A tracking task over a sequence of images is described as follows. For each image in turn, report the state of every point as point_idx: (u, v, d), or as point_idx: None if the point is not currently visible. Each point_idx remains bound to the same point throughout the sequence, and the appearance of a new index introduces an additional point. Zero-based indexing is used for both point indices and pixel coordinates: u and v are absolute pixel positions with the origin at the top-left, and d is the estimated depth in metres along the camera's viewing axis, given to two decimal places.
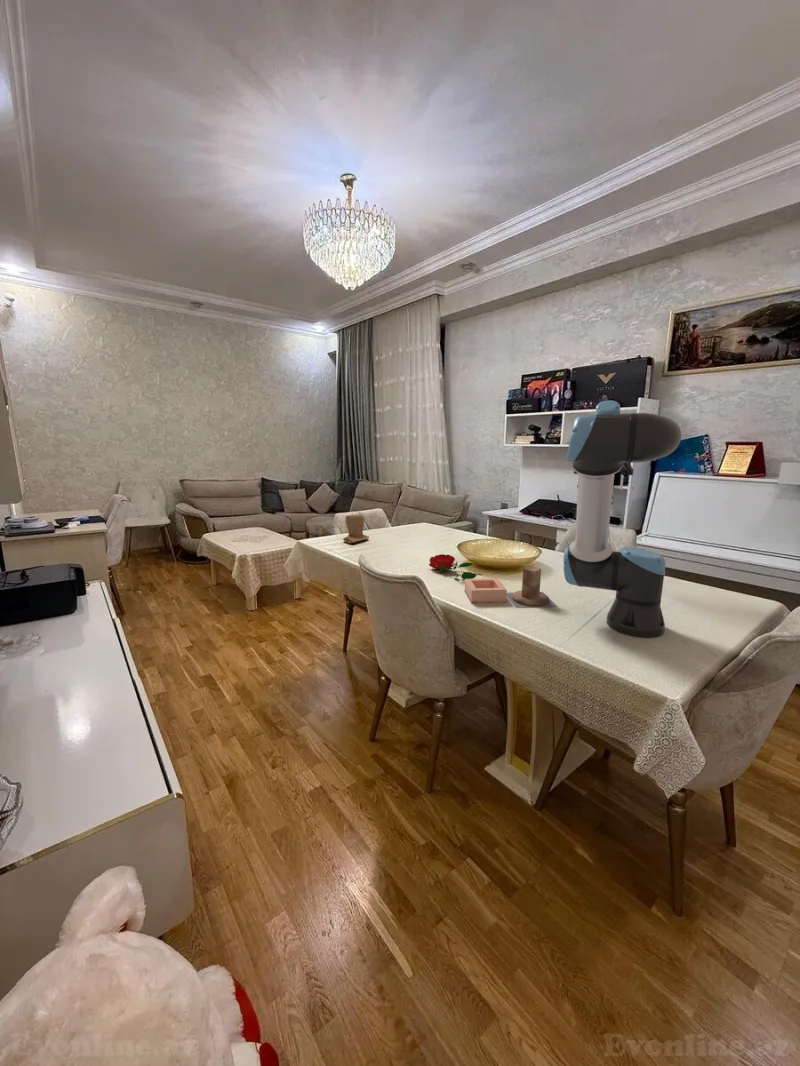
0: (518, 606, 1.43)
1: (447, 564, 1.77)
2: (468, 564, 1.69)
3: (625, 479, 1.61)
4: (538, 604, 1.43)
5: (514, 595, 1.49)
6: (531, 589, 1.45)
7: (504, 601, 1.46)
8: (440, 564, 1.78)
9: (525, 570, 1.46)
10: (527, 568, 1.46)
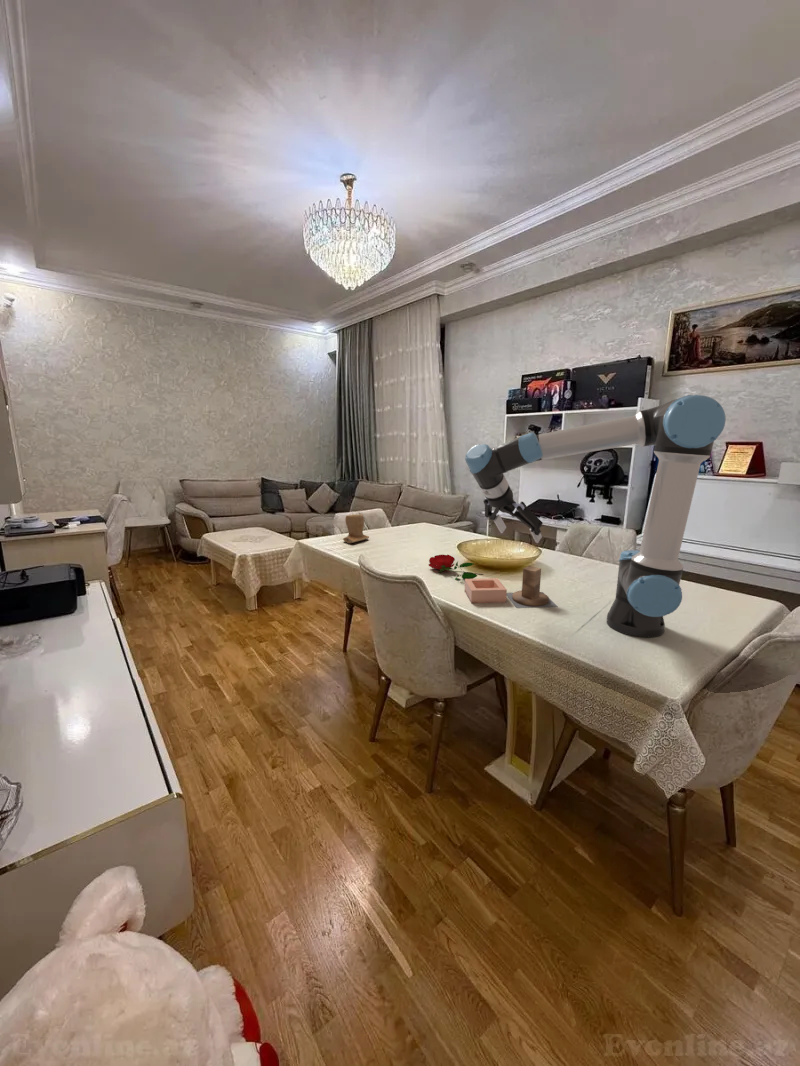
0: (518, 606, 1.43)
1: (447, 564, 1.77)
2: (469, 564, 1.69)
3: None
4: (538, 604, 1.43)
5: (514, 595, 1.49)
6: (531, 589, 1.45)
7: (504, 601, 1.46)
8: (440, 564, 1.78)
9: (525, 570, 1.46)
10: (527, 568, 1.46)
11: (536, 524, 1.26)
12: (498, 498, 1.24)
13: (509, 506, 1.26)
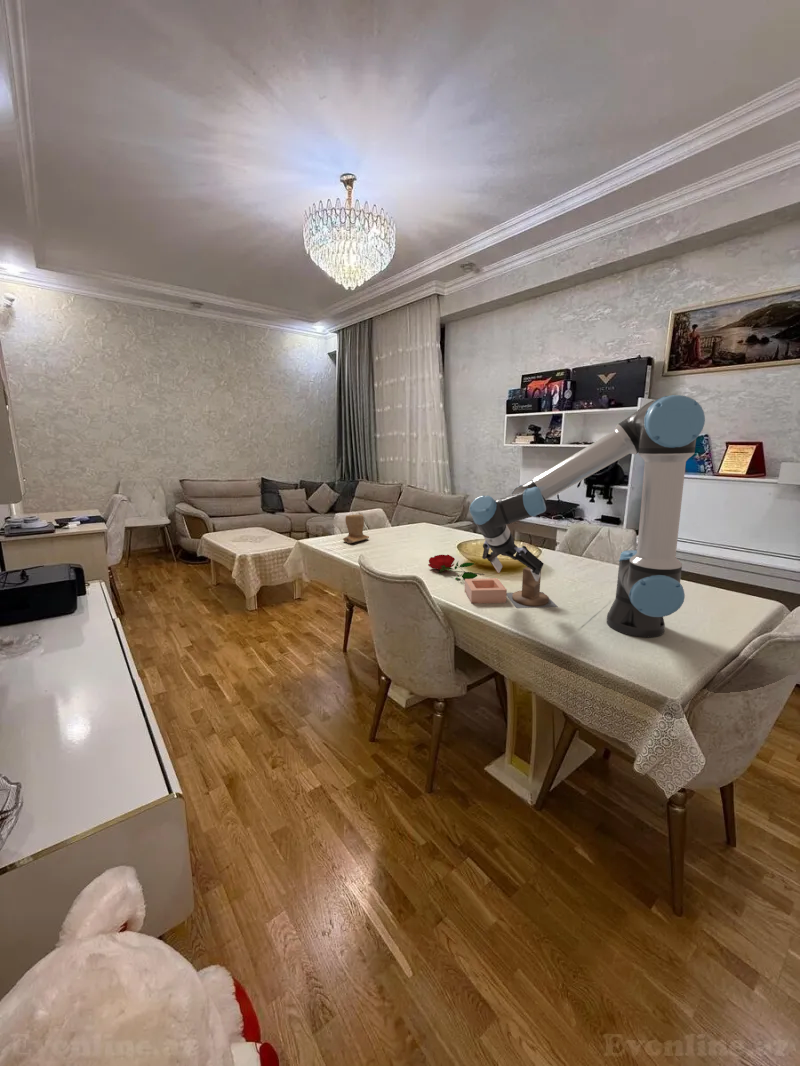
0: (518, 606, 1.43)
1: (447, 564, 1.77)
2: (469, 564, 1.69)
3: None
4: (538, 604, 1.43)
5: (514, 595, 1.49)
6: (531, 589, 1.45)
7: (504, 601, 1.46)
8: (440, 564, 1.78)
9: (525, 570, 1.46)
10: (527, 568, 1.46)
11: (538, 566, 1.29)
12: (502, 545, 1.26)
13: (511, 551, 1.29)
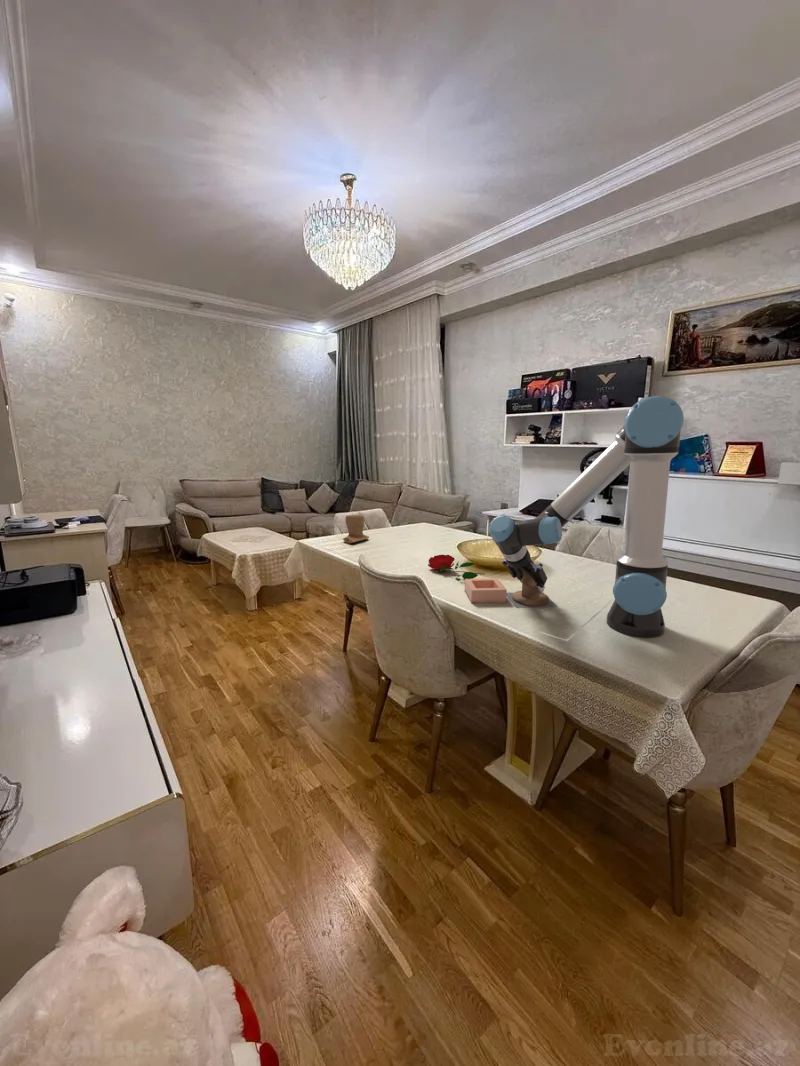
0: (518, 606, 1.43)
1: (447, 564, 1.77)
2: (469, 564, 1.69)
3: None
4: (538, 604, 1.43)
5: (514, 595, 1.49)
6: (531, 589, 1.45)
7: (504, 601, 1.46)
8: (440, 564, 1.78)
9: None
10: None
11: (544, 581, 1.41)
12: (519, 561, 1.33)
13: (528, 566, 1.36)
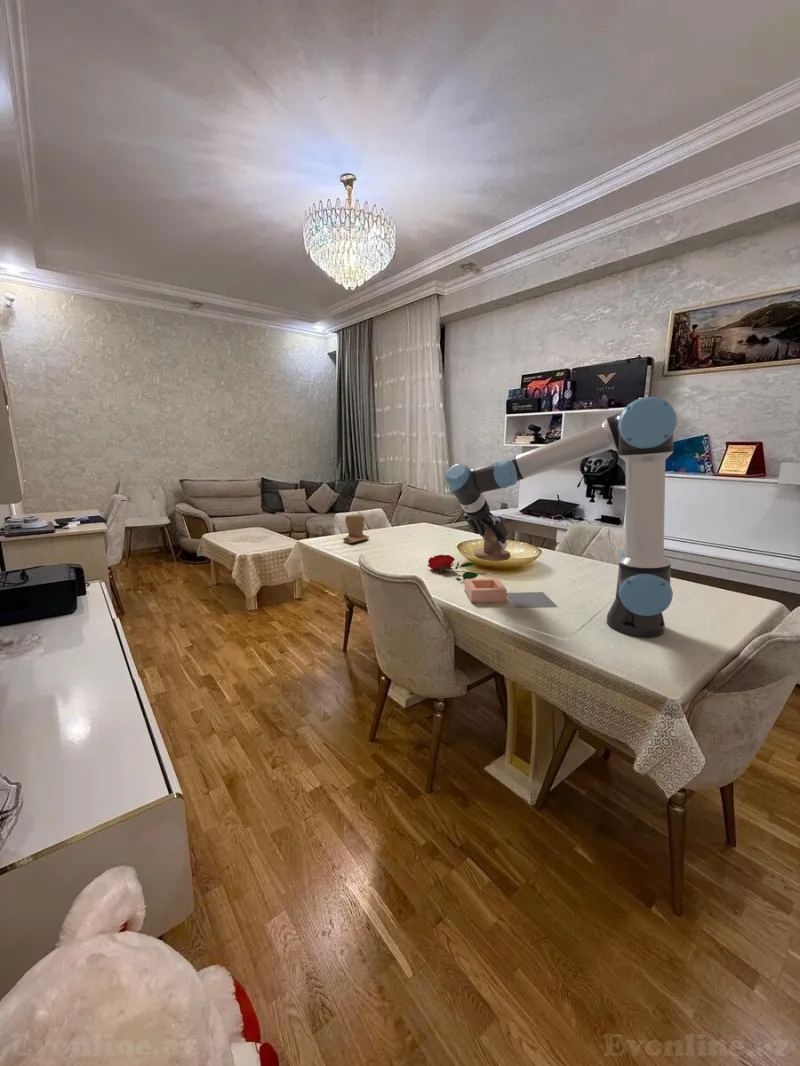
0: (518, 606, 1.43)
1: (447, 564, 1.77)
2: (470, 564, 1.69)
3: None
4: (498, 559, 1.43)
5: (476, 551, 1.49)
6: (492, 544, 1.45)
7: (504, 601, 1.46)
8: (440, 564, 1.78)
9: None
10: None
11: (504, 535, 1.40)
12: (477, 512, 1.33)
13: (487, 518, 1.36)
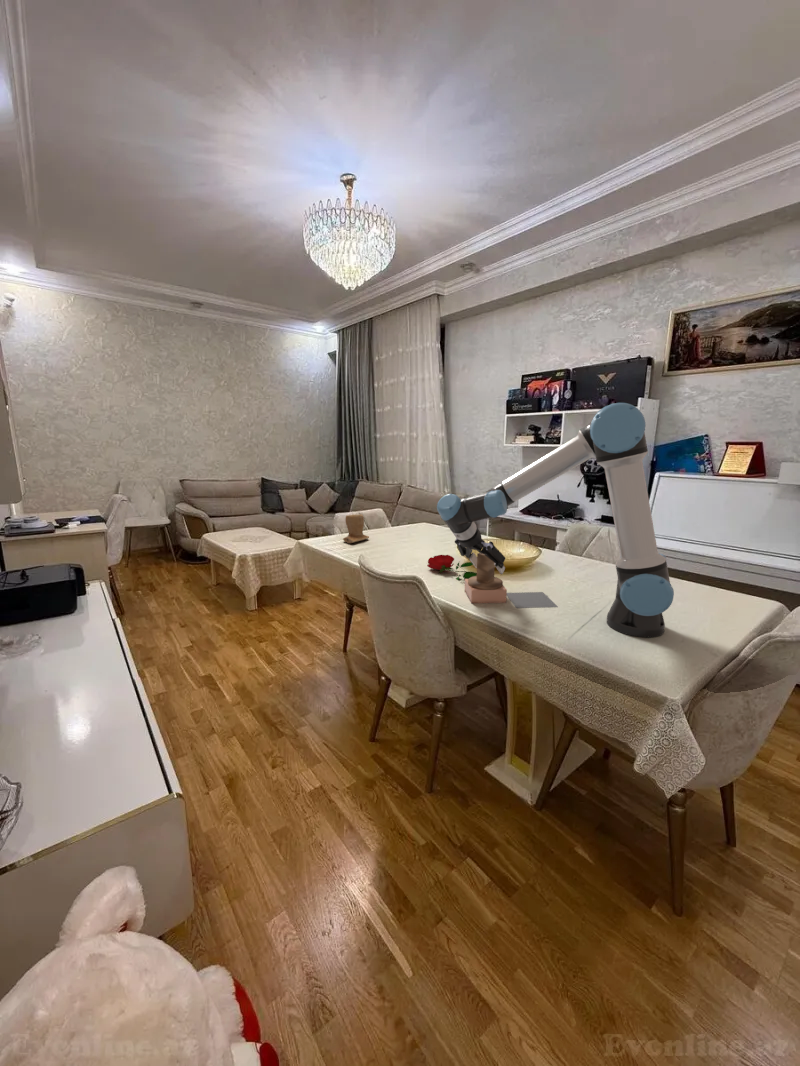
0: (518, 606, 1.43)
1: (447, 564, 1.77)
2: (470, 564, 1.70)
3: None
4: (491, 588, 1.45)
5: (469, 580, 1.52)
6: (485, 573, 1.48)
7: (504, 601, 1.46)
8: (440, 564, 1.78)
9: (479, 555, 1.48)
10: None
11: (501, 560, 1.41)
12: (469, 539, 1.35)
13: (479, 545, 1.38)
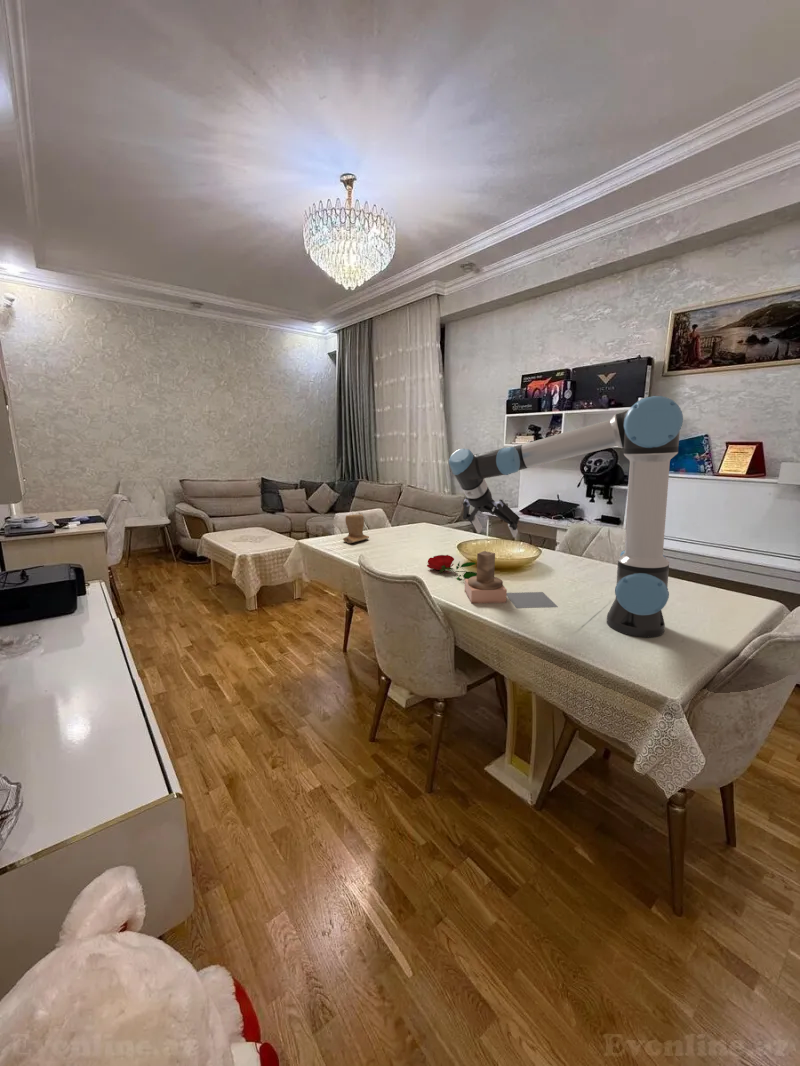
0: (518, 606, 1.43)
1: (447, 564, 1.77)
2: (471, 564, 1.70)
3: None
4: (491, 588, 1.45)
5: (469, 580, 1.52)
6: (485, 573, 1.48)
7: (504, 601, 1.46)
8: (440, 565, 1.78)
9: (479, 555, 1.48)
10: (481, 553, 1.49)
11: (514, 519, 1.37)
12: (480, 498, 1.34)
13: (489, 505, 1.37)
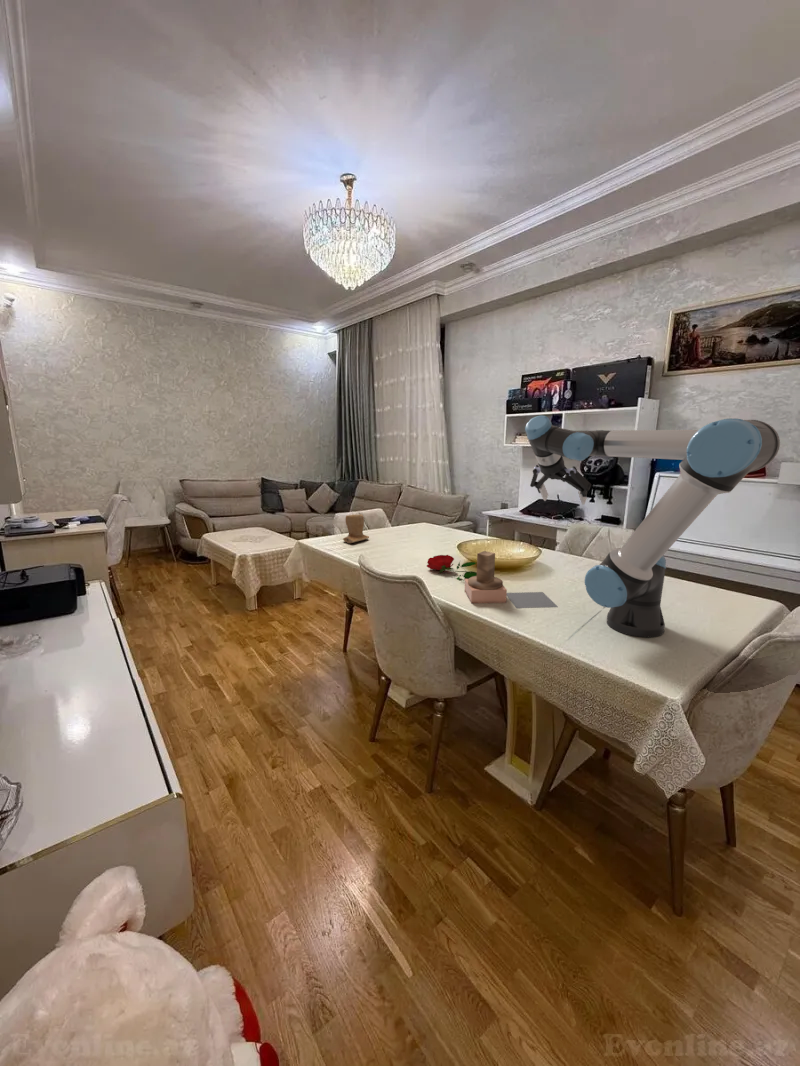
0: (518, 606, 1.43)
1: (447, 564, 1.77)
2: (471, 563, 1.70)
3: None
4: (491, 588, 1.45)
5: (469, 580, 1.52)
6: (485, 573, 1.48)
7: (504, 601, 1.46)
8: (440, 565, 1.77)
9: (479, 555, 1.48)
10: (481, 553, 1.49)
11: (586, 486, 1.39)
12: (553, 465, 1.35)
13: (561, 472, 1.38)
